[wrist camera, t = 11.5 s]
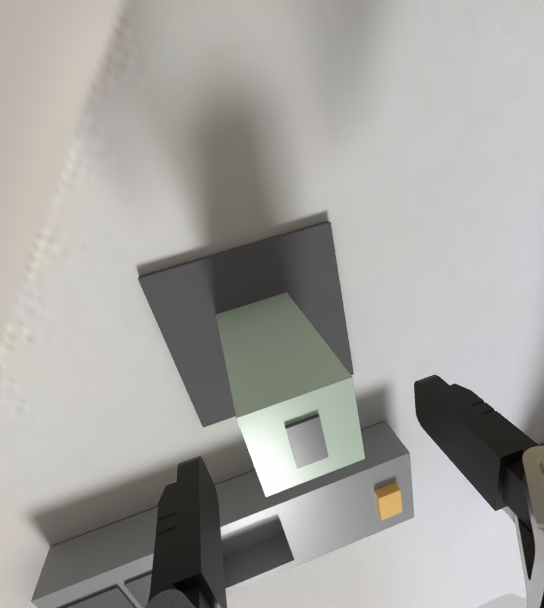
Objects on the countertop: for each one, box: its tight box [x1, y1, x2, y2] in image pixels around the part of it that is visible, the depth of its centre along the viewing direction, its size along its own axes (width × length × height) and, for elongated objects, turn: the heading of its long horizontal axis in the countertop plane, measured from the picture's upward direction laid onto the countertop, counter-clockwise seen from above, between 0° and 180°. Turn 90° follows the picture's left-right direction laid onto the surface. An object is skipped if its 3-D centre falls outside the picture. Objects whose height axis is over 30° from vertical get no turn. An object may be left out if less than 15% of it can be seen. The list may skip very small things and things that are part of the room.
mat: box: [138, 221, 354, 427], centre depth 19 cm, size 10×10×1 cm
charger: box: [216, 292, 365, 497], centre depth 15 cm, size 4×4×8 cm
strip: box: [31, 421, 414, 608], centre depth 23 cm, size 24×7×4 cm, turn 103°
